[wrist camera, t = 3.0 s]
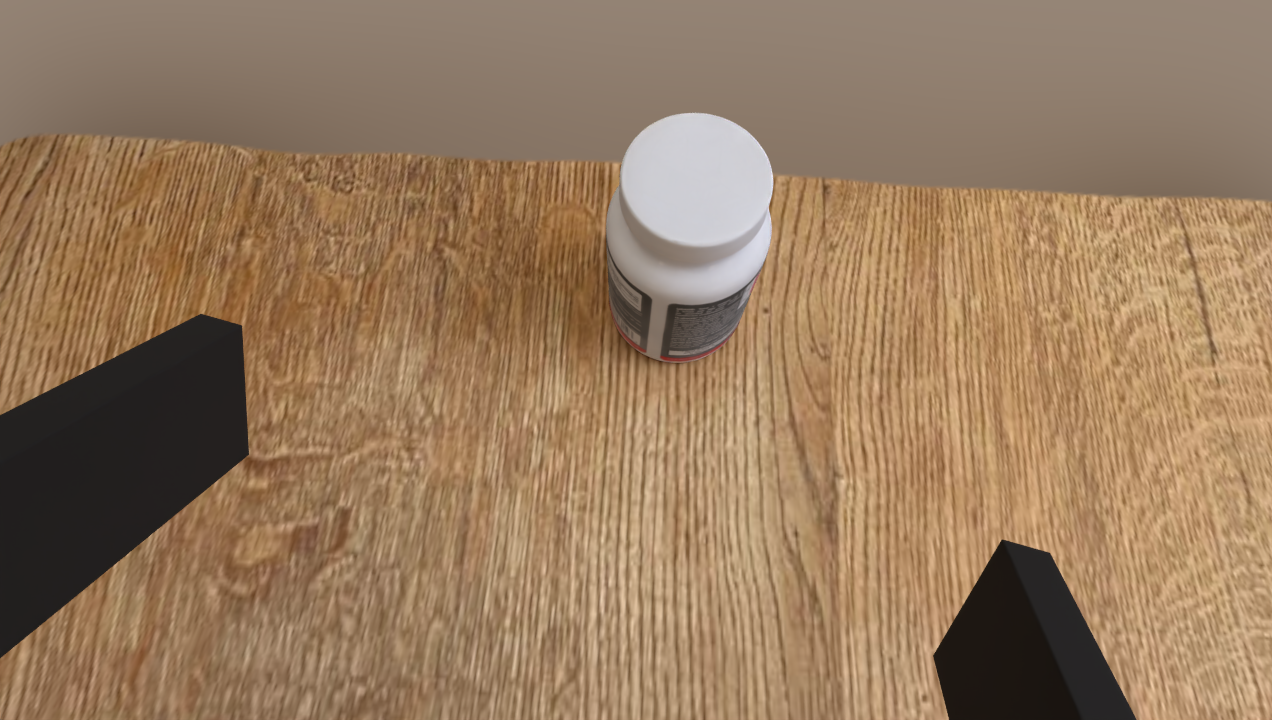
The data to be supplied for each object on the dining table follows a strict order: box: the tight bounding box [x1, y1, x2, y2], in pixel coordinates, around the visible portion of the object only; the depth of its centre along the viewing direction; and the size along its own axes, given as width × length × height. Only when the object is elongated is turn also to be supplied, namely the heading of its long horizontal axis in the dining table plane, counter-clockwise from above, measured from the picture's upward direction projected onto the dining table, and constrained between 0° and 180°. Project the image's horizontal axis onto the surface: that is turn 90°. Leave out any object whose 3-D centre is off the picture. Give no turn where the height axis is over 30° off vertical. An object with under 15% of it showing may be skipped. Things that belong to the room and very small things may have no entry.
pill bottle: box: [606, 113, 773, 363], centre depth 26 cm, size 6×6×10 cm
